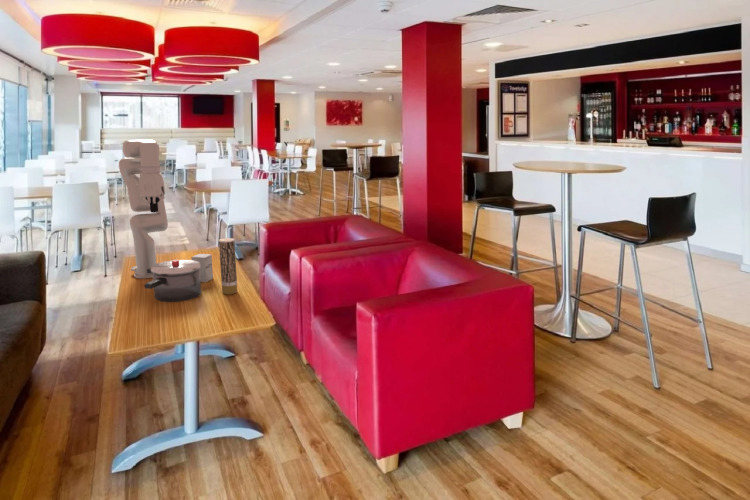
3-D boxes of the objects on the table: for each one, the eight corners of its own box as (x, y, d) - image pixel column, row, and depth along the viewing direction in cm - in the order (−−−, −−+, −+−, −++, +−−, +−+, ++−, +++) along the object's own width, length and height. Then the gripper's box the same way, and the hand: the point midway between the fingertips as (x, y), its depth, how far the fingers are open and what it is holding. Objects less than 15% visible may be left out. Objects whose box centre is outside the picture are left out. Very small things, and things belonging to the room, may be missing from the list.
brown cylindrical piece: (230, 289, 257) (227, 237, 252) (240, 292, 254) (237, 239, 248) (219, 293, 252) (215, 240, 246) (229, 295, 248) (225, 241, 242)
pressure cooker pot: (123, 306, 234) (120, 279, 231) (166, 286, 262) (164, 262, 259) (171, 311, 228) (168, 283, 225) (209, 290, 256) (207, 265, 254)
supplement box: (206, 282, 268) (204, 257, 265) (192, 281, 270) (190, 256, 267) (213, 278, 275) (212, 254, 273) (200, 277, 277) (198, 253, 274)
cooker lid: (140, 273, 239) (139, 265, 239) (169, 261, 259) (169, 254, 258) (183, 276, 234) (182, 269, 233) (209, 264, 254) (209, 257, 253)
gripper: (130, 170, 237) (134, 212, 241) (160, 171, 233) (164, 214, 238) (141, 168, 244) (145, 209, 248) (171, 170, 240) (174, 211, 245)
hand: (154, 211), depth 243 cm, fingers closed
